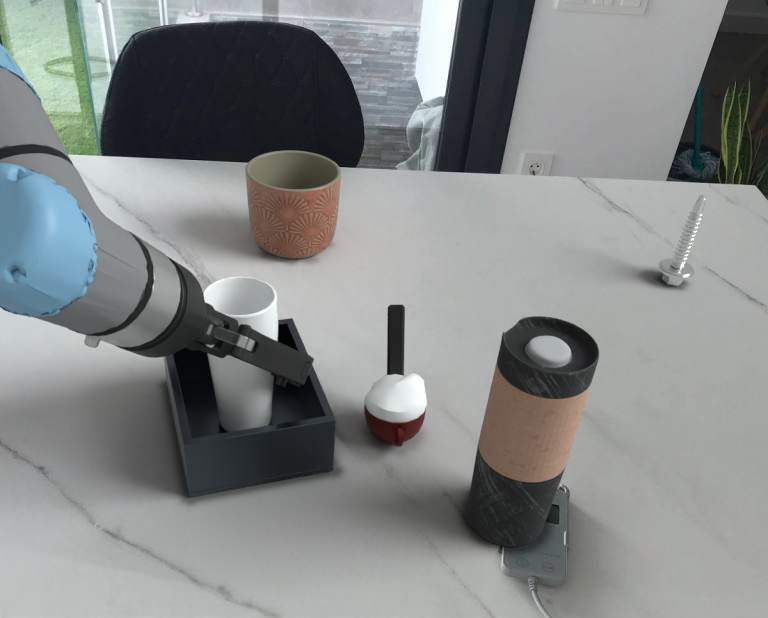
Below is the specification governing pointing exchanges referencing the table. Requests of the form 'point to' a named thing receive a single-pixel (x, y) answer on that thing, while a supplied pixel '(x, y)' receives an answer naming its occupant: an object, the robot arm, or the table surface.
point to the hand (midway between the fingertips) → (248, 353)
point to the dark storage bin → (255, 445)
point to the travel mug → (529, 427)
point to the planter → (293, 202)
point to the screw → (683, 248)
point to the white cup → (235, 377)
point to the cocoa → (396, 390)
